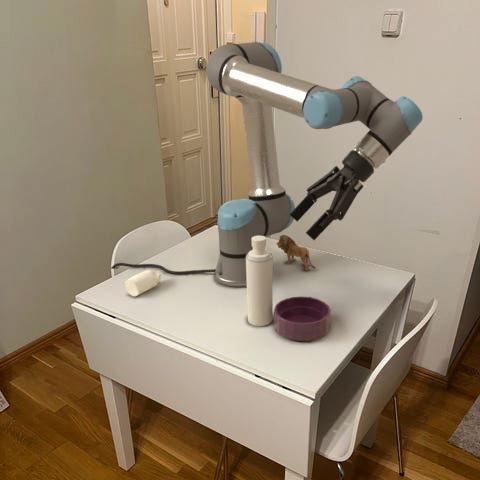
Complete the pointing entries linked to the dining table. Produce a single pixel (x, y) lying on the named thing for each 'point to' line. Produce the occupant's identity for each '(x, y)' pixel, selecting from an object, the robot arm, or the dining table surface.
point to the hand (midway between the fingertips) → (301, 227)
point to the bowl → (302, 318)
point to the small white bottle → (142, 282)
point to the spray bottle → (259, 283)
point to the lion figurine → (294, 251)
